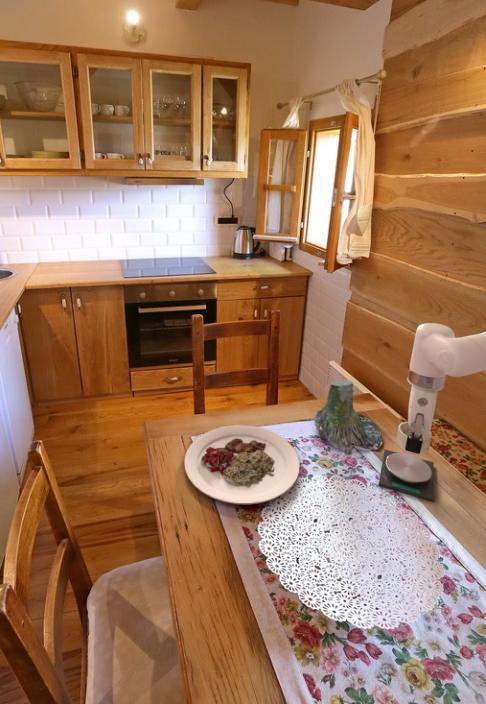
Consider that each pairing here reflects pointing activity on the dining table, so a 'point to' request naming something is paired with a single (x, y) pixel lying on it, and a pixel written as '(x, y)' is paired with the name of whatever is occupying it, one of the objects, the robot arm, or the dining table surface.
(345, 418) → the tree stump
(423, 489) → the scale
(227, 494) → the plated food
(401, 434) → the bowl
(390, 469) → the scale pan
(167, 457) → the dining table surface
